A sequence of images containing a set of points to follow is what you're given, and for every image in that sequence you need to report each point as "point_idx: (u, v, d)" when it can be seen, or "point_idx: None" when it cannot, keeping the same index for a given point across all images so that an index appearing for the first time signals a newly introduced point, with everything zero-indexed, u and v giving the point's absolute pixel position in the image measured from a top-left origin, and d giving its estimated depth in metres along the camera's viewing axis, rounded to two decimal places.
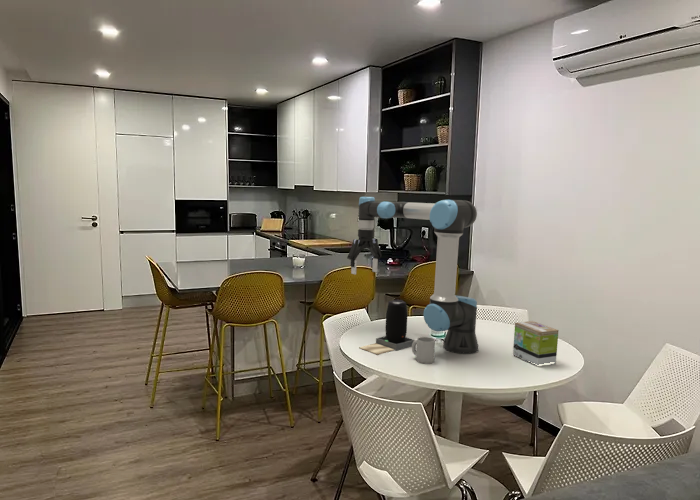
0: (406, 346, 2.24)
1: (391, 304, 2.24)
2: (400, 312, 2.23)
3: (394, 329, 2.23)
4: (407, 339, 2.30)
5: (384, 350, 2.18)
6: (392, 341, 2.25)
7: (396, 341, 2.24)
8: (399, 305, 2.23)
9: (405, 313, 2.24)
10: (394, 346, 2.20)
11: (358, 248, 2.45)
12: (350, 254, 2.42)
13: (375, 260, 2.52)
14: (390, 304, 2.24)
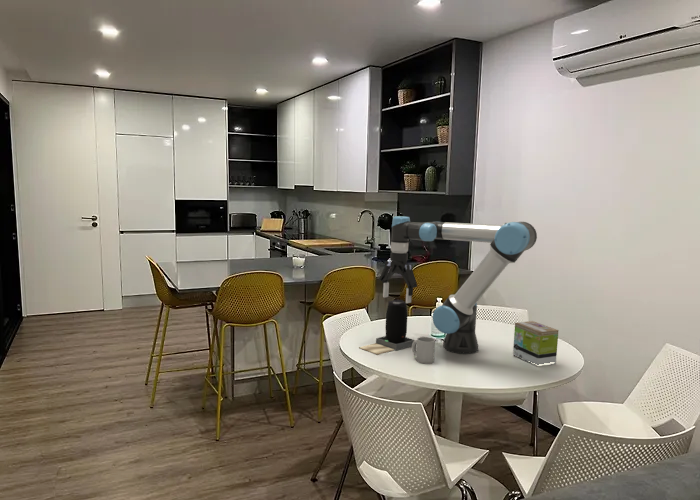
0: (406, 346, 2.24)
1: (391, 304, 2.24)
2: (400, 312, 2.23)
3: (394, 329, 2.23)
4: (407, 339, 2.30)
5: (384, 350, 2.18)
6: (392, 341, 2.25)
7: (396, 341, 2.24)
8: (399, 305, 2.23)
9: (405, 313, 2.24)
10: (394, 346, 2.20)
11: None
12: None
13: None
14: (390, 304, 2.24)
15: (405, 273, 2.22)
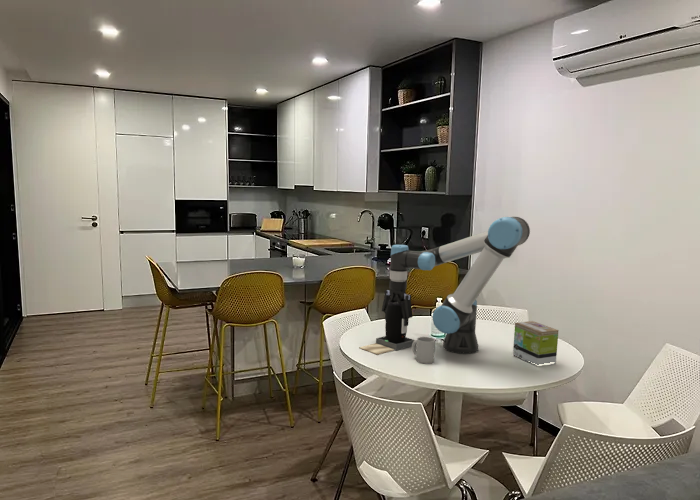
0: (406, 346, 2.24)
1: (391, 304, 2.24)
2: (400, 312, 2.23)
3: (393, 329, 2.23)
4: (407, 339, 2.30)
5: (384, 350, 2.18)
6: (392, 341, 2.25)
7: (396, 341, 2.24)
8: (399, 305, 2.23)
9: None
10: (394, 346, 2.20)
11: None
12: None
13: None
14: (390, 304, 2.24)
15: (403, 302, 2.24)
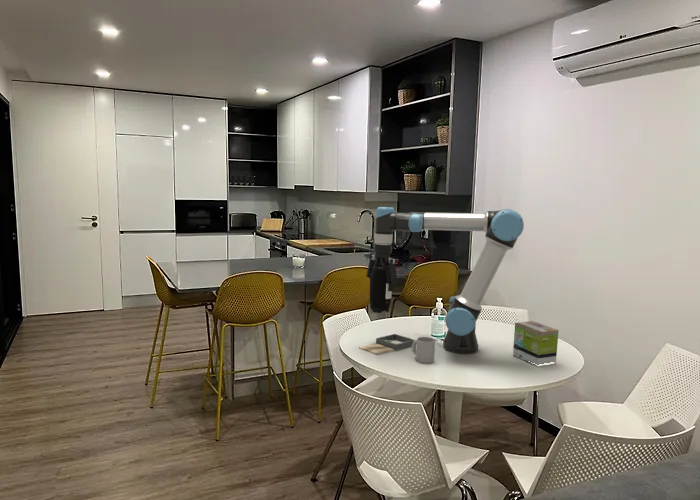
0: (406, 346, 2.24)
1: (375, 268, 2.15)
2: (384, 277, 2.14)
3: (377, 294, 2.15)
4: (407, 339, 2.30)
5: (384, 350, 2.18)
6: (376, 307, 2.16)
7: (380, 307, 2.16)
8: (383, 269, 2.14)
9: None
10: (394, 346, 2.20)
11: None
12: None
13: None
14: (374, 268, 2.16)
15: None
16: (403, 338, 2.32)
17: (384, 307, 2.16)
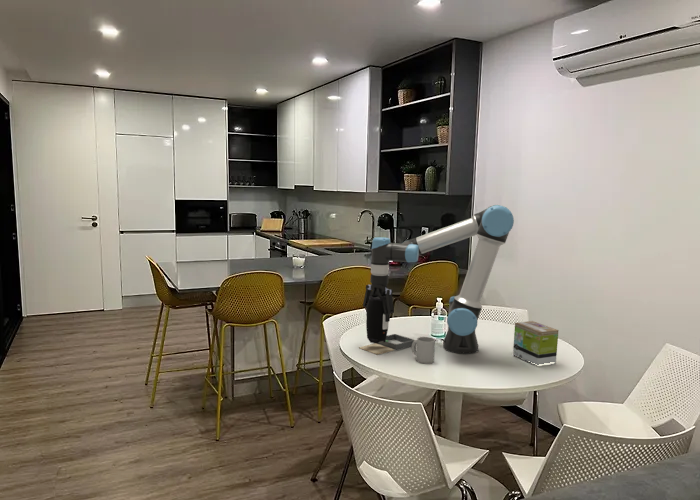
0: (406, 346, 2.24)
1: (372, 299, 2.15)
2: (381, 307, 2.15)
3: (374, 325, 2.15)
4: (407, 339, 2.30)
5: (384, 350, 2.18)
6: (373, 337, 2.16)
7: (377, 337, 2.16)
8: (380, 300, 2.14)
9: None
10: (394, 346, 2.20)
11: None
12: None
13: None
14: (371, 299, 2.16)
15: (384, 297, 2.15)
16: (403, 338, 2.32)
17: (381, 337, 2.16)
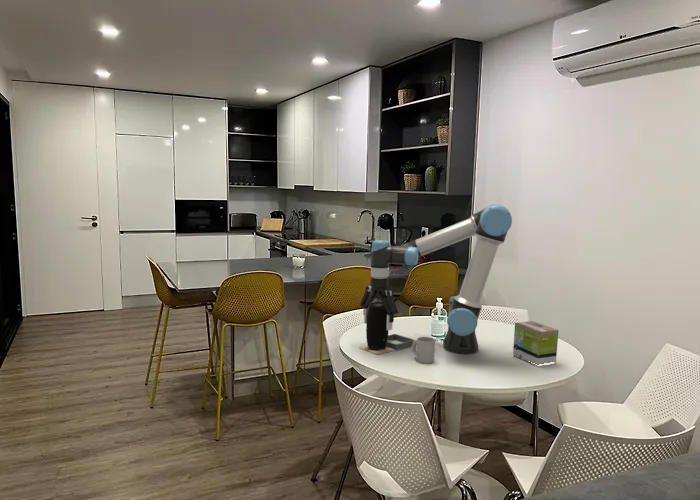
0: (406, 346, 2.24)
1: (372, 306, 2.16)
2: (381, 314, 2.15)
3: (374, 332, 2.16)
4: (407, 339, 2.30)
5: (384, 350, 2.18)
6: (373, 344, 2.17)
7: (377, 344, 2.16)
8: (380, 307, 2.15)
9: (386, 315, 2.16)
10: (394, 346, 2.20)
11: None
12: None
13: None
14: (371, 306, 2.16)
15: (386, 299, 2.15)
16: (403, 338, 2.32)
17: (381, 345, 2.17)
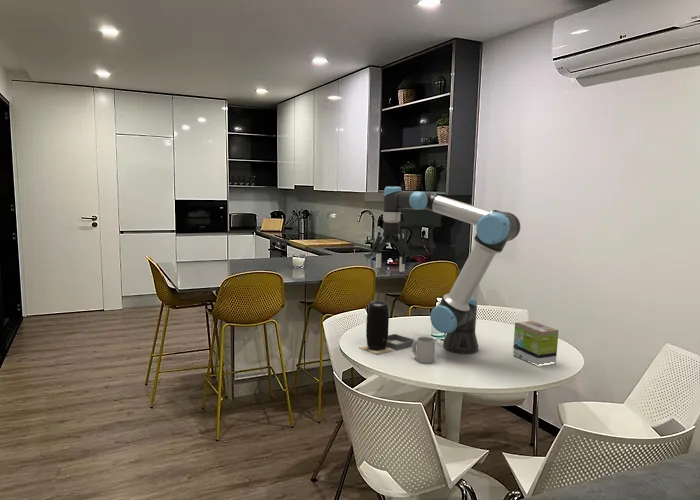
0: (406, 346, 2.24)
1: (372, 306, 2.16)
2: (381, 314, 2.15)
3: (374, 332, 2.16)
4: (407, 339, 2.30)
5: (384, 350, 2.18)
6: (373, 344, 2.17)
7: (377, 344, 2.16)
8: (380, 307, 2.15)
9: (386, 315, 2.16)
10: (394, 346, 2.20)
11: None
12: None
13: None
14: (371, 306, 2.16)
15: (398, 242, 2.25)
16: (403, 338, 2.32)
17: (381, 345, 2.17)
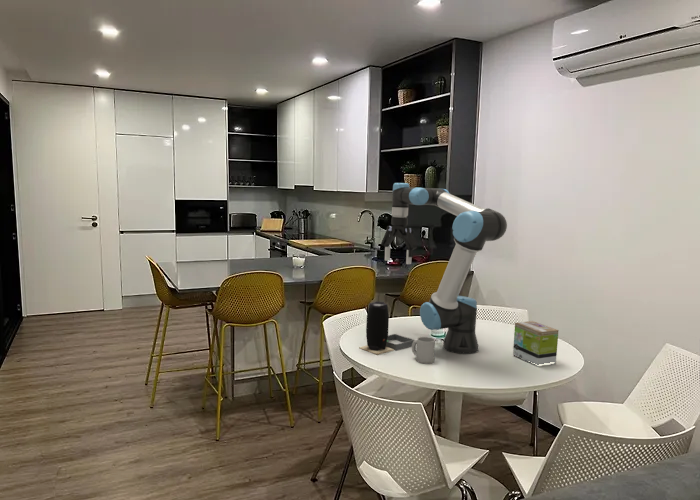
0: (406, 346, 2.24)
1: (372, 306, 2.16)
2: (381, 314, 2.15)
3: (374, 332, 2.16)
4: (407, 339, 2.30)
5: (384, 350, 2.18)
6: (373, 344, 2.17)
7: (377, 344, 2.16)
8: (380, 307, 2.15)
9: (386, 315, 2.16)
10: (394, 346, 2.20)
11: None
12: None
13: None
14: (371, 306, 2.16)
15: (405, 236, 2.36)
16: (403, 338, 2.32)
17: (381, 345, 2.17)
